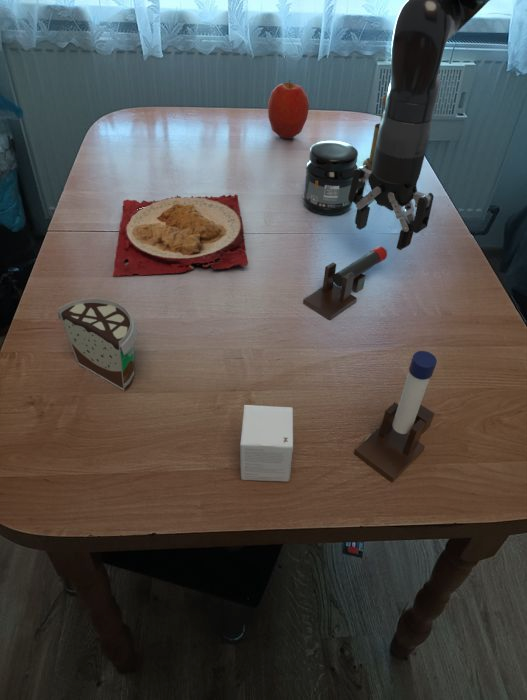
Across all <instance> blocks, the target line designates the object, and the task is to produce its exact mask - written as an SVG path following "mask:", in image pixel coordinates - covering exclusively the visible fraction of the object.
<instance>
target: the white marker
mask: <svg viewBox="0 0 527 700" xmlns="http://www.w3.org/2000/svg"><path fill="white" fill-rule="evenodd" d="M437 362H438V361H437V357H436V356H435V355H434V354H433V353H431V352H429V351H426V350H417V351H415V352H414V353H413V355H412V358H411V362H410V364H409V367H408V374H407V376H406V379H405V382H404V386H403V389H402V393H401V396H400V398H399V402H398V408H397V411H396V414H395V417H394V421H393V424H392V426H393V428H394V430H395V431H396V432H398V433H400V434H409V433H410V430H411V428H412V427H413V424H414V421H415V419H416V416H417V413H418V410H419V407H420V405H422V402H423V399H424V396H425V393H426V391H427V389H428V388H427V387H428V385H429V383H430V381H431V380H430V379H431V378H432V377H433V374H434V371H435V369H436V366H437V364H438V363H437Z"/></svg>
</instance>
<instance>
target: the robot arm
mask: <svg viewBox="0 0 527 700" xmlns="http://www.w3.org/2000/svg"><path fill="white" fill-rule="evenodd" d="M490 1H491V0H406V2H405V3H404V4H403V5H402V7H401V9H400V10H399V12H398V15H397V17H396V19H395V24H394V28H393V34H392V39H391V40H392V41H391V52H390V53H391V56H390V81H389V85H388V89H387V93H386V94H387V99H386V104H385V109H384V108H383V112H384V114H383V113H382V114H383V117H382V120H381V119H380V122H379V123H380V127H379V131H378V135H377V142H376V147H375V152H374V158H373V163H372V171H370V170H369V168H368V166H367V165H364V166H363V165H362V166H359V167H358V169H356V170H355V171H354V174H353V179H352V183H351V188H350V192H349V197H348V199H349V201H350V202H352V203H354V204H355V207H356V214H355V219H354V223H355V225H356V226H355V228H356V229H357V230H359V231H361V230H363V229H365V228H366V227H367V226H368V220H369V216H370V211H371V207H370V206H369V205H371V204H372V203H373V202H374V201H375V202H376V205H379V206H381V207H385V208H386V209H387V210H389V211H391V212H393V213H394V216H395V218H396V219H397V220H399V223H400V227H401V230H400V232H399V235H398V240H397V244H396V250H399V251H402V250H403V249H406V248H407V247H409V246H410V245H411V243H412V239H413V235H414V234H418V233H420V232H421V231H423V230H425V229H426V228H427V227H428V225H429V220H430V216H431V211H432V206H433V203H434V198H435V197H434V194H433V193H432V192H427V193H423V192H421V191H418V188H417V183H418V181H419V179H420V175H421V172H422V167H423V164H424V161H425V156H426V152H427V148H428V144H429V140H430V137H431V132H432V131H431V129H432V122H433V119H434V118H433V117H434V114H435V111H436V107H437V102H438V97H439V94H440V88H441V79H440V76H439V74H440V73H439V72H440V69H441V63H442V60H443V56H444V53H445V48H446V45H447V42H448V41H450V40H451V39H452V38H453V37H454V36H455V35H456V34H457V33H458V32H459V31H460V30H461V29H462V28H463V27H464V26H465V25H466V24H467V23H468V22H470V21H471V19H473V17H475V16H476V15H477V13H479V12H480V11H481V9H483V8H484V6H486V5H487V4H488V3H489V2H490ZM367 182H368V184H369V187H370V191H369V192H368V193H367V194H366V195H365V196H364V191H365V187H366V183H367ZM413 200H414V204H413V202H412V201H413ZM403 208H404V210H403ZM415 208H416V210H415Z"/></svg>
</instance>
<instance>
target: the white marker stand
mask: <svg viewBox="0 0 527 700" xmlns="http://www.w3.org/2000/svg"><path fill="white" fill-rule="evenodd" d="M398 405H399V403H397V402H393V403H392V404H390V406H389V407H387V408H386V409H385V411H384V413H383V417H382V421H381V424H380V425H379V426H378V427H377V428H376V429H375V430H374V431H372V433H370V435H369V436H368V437H366V438H365V439H364V440H363V441H362V442H361V443H360V444H359V445H358V446H357V447H356V448H355V449H354V452H353V454H354V455H355V456H356V457H357V458H359V459H360V460H361V461H363V462H364V463H365V464H367V465H368V466H370V468H372V469H373V470H375V472H377V473H379V474H380V475H381V476H383V478H385V479H386V480H388V482H390V483H394V482H395V481H396V480H397V479H398V478H399V477H400V476H401V475H402V474H403V473H404V472H405V471H406V470H407V468H408V467H409V466H411V464H412V463H413V462H414V461H415V460H416V459H417V458H418V457H419V456H420V455H421V454H422V453H423V452H424V450H425V448H426V446H425V445H424V444H422V443H421V442H420V439H421V437H422V435H423V434H424V433H425V432H426V431H427V430H428V429H429V428H430V427H431V425H432V421H433V419H434V416H435V412H433V411H431V410H430V409H429V408H427V407H425V406H424V405H422V404H421V405H420V407H419V410H418V413H417V416H416V419H415V421H414V424H413V427H412V428H411V430H410V432H409V433H407V434H400V433H398V432H396V431H395V430H394V428H393V426H392V424H393V421H394V417H395V414H396V411H397V408H398Z"/></svg>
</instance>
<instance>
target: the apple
mask: <svg viewBox="0 0 527 700" xmlns="http://www.w3.org/2000/svg"><path fill="white" fill-rule="evenodd" d="M303 88H304V87H302V86H301V85H298V84H295V83H291V79H289V82H285V83H279V84H278V85H276V87H275V88H274V89H273V90H271V92H270V95H269V99H268V101H267V114H268V120H269V123H270V127H271V130H272V132H274V133H275V134H276V135H277V136H278V137H280V138H282V139H292V138H295V137H296V136H297V135H299V134H300V133H301V132H302V131H303V128H304V126H305V124H306V122H307V120H308V115H309V110H310V102H309V99H308V93H307V92H306V91H305V89H303Z"/></svg>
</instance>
